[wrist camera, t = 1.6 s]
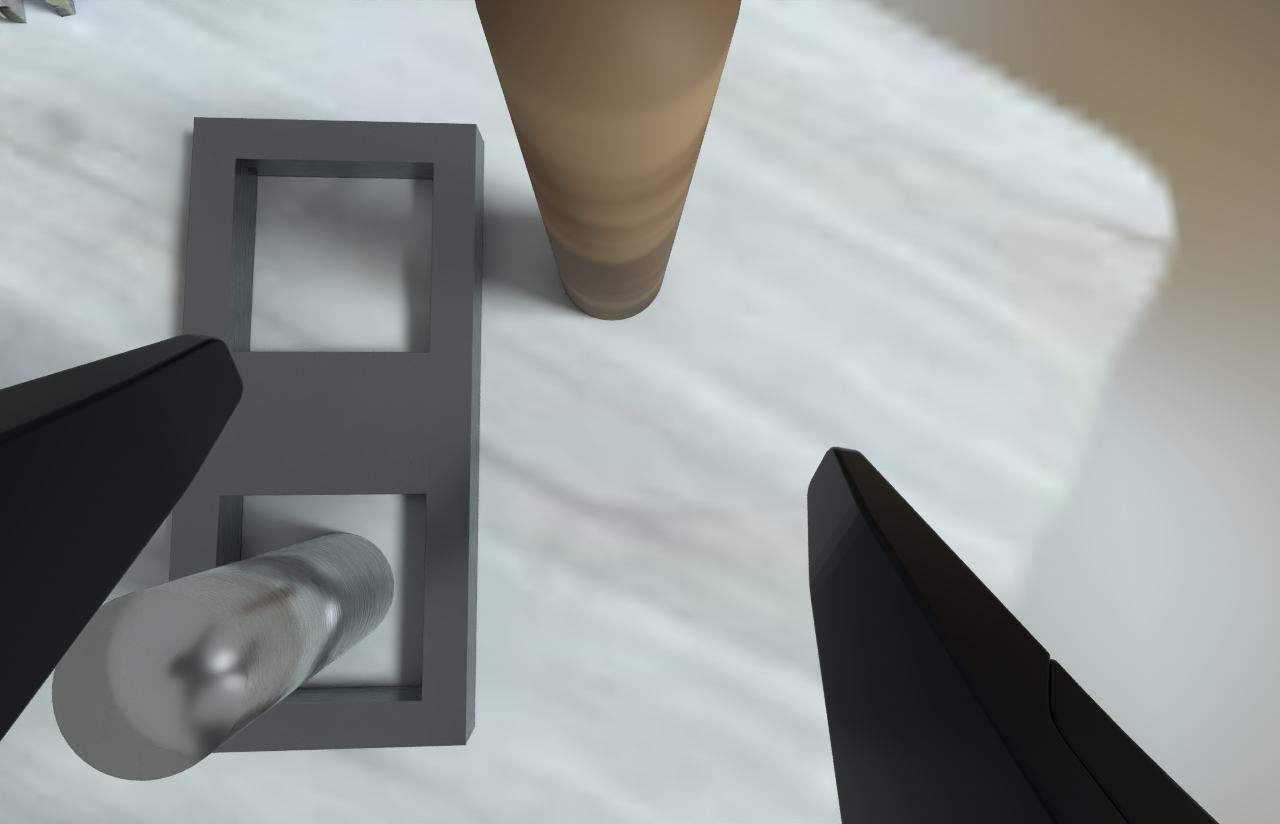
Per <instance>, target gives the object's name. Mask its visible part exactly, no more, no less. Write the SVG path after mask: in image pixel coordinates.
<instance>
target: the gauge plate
mask: <svg viewBox="0 0 1280 824" xmlns="http://www.w3.org/2000/svg"><path fill="white" fill-rule="evenodd" d="M258 175H263V176H314V177H366V178H417V179H434V181H433V225H432V269H431V313H430V352H250V331H251V309H252V287H253V266H254V244H255V222H256V200H257V178H258ZM483 178H484V141H483V139H482V137H481V134H480V132H479V130H478V127H477V125H476V124H450V123H409V122H368V121H326V120H285V119H244V118H203V117H194V133H193V151H192V169H191V188H190V206H189V225H188V243H187V262H186V280H185V298H184V317H183V335H184V334H200V335H205V336H211V337H216V338H219V339H221V340H223V341H224V342H225V343H226V344H227V346H228V348H229V350H230V352H231V355H232V357H233V360H234V362H235V364H236V367H237V369H238V371H239V374H240V376H241V379H242V381H243V387H244V388H243V394H242V398H241V400H240V402H239V403H238V405H237V407H236V408H235V410H234V412H233V414H232V415H231V417H230V419H229V420H228V422H227V424H226V426H225V427H224V429H223V431H222V432H221V434H220V436H219V438H218V439H217V441H216V443H215V444H214V446H213V448H212V450H211V451H210V453H209V455H208V456H207V458H206V460H205V461H204V463H203V465H202V467H201V468H200V470H199V472H198V473H197V475H196V476H195V478H194V480H193V481H192V483H191V484H190V486H189V487H188V489H187V490H186V491H185V493H184V494H183V496H182V497H181V499H180V500H179V501H178V503H177V504H176V505H175V507H174V508H173V520H172V538H171V557H170V575H169V582H170V581H174V580H177V579H180V578H184V577H187V576H190V575H194V574H197V573H200V572H204V571H207V570H210V569H214V568H217V567H220V566H224V565H227V564H230V563H234V562H237V561H240V551H241V529H242V507H243V495H350V494H426V535H425V579H424V623H423V668H422V686H386V687H345V688H305V689H295V690H294V691H293V692H292V693H290V694H289V695H288V696H286V697H285V698H284V699H282V700H281V701H280V702H278V703H277V704H276V705H274V706H273V707H272V708H270V709H269V710H268V711H266V712H265V713H264V714H262V715H261V716H260V717H258V718H257V719H256V720H254V721H253V722H252V723H250V724H249V725H248V726H246V727H245V728H244V729H243V730H241V731H240V732H239V733H237V734H236V735H235V736H233V737H232V738H231V739H229V740H228V741H227V742H225V743H224V744H223V745H221V746H220V747H219V748H217V749H216V750H215V751H213V752H212V753H219V752H252V751H286V750H319V749H352V748H385V747H419V746H452V745H466V743H467V741H468V739H469V737H470V735H471V733H472V731H473V729H474V727H475V675H476V613H477V551H478V489H479V426H480V364H481V302H482V240H483Z"/></svg>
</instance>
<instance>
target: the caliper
mask: <svg viewBox="0 0 1280 824" xmlns="http://www.w3.org/2000/svg"><path fill="white" fill-rule="evenodd" d="M45 1H46V2H47V3H50V4H52V6H53V7H54V8H55V9H56V10H57V12H58V13H59V14H60V15H61V16H62V17H64V16H70V15H75V14H76V12H75V6H74V1H73V0H45ZM0 16H2V17H3V18H6V19H10V20H13V21H16V22H26V17H25V11H24V6H23V0H0Z"/></svg>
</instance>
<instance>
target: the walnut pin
mask: <svg viewBox="0 0 1280 824" xmlns="http://www.w3.org/2000/svg"><path fill="white" fill-rule="evenodd" d="M475 3H476V8H477V11H478V14H479V17H480V20H481V24H482V27H483V30H484V33H485V36H486V40H487V43H488V46H489V49H490V52H491V56H492V59H493V62H494V65H495V68H496V72H497V75H498V78H499V81H500V84H501V88H502V91H503V94H504V97H505V100H506V104H507V107H508V110H509V113H510V116H511V120H512V123H513V126H514V129H515V132H516V136H517V139H518V142H519V145H520V148H521V152H522V155H523V158H524V161H525V164H526V168H527V171H528V174H529V177H530V180H531V184H532V187H533V190H534V193H535V196H536V200H537V203H538V206H539V209H540V212H541V216H542V219H543V222H544V225H545V228H546V232H547V235H548V238H549V241H550V244H551V248H552V251H553V254H554V257H555V260H556V264H557V267H558V270H559V273H560V276H561V280H562V283H563V286H564V289H565V291H566V293H567V295H568V296H569V298H570V299H571V300H572V302H573V303H574V304H575V305H576V306H577V307H578V308H580V309H581V310H582V311H584V312H585V313H587V314H589V315H591V316H593V317H596V318H599V319H604V320H622V319H626V318H629V317H632V316H634V315H637V314H639V313H640V312H642V311H643V310H644V309H646V308H647V307H648V306H649V305H650V304H651V303H652V302H653V300H654V299H655V297H656V296H657V294H658V292H659V290H660V287H661V285H662V281H663V278H664V274H665V271H666V267H667V264H668V260H669V257H670V253H671V250H672V246H673V243H674V239H675V236H676V232H677V229H678V225H679V222H680V218H681V215H682V211H683V208H684V204H685V201H686V197H687V194H688V190H689V187H690V183H691V180H692V176H693V173H694V169H695V166H696V162H697V159H698V155H699V152H700V148H701V145H702V141H703V138H704V134H705V131H706V127H707V124H708V120H709V117H710V113H711V110H712V106H713V103H714V99H715V96H716V92H717V89H718V85H719V82H720V78H721V75H722V72H723V68H724V65H725V61H726V58H727V54H728V51H729V47H730V44H731V40H732V37H733V33H734V30H735V26H736V23H737V19H738V15H739V10H740V5H741V0H475Z"/></svg>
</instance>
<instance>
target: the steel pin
mask: <svg viewBox="0 0 1280 824" xmlns="http://www.w3.org/2000/svg"><path fill="white" fill-rule="evenodd" d="M393 593H394V579H393V574H392V570H391V567H390V565H389V563H388V561H387V559H386V557H385V556H384V554H383V553H382V552H381V551H380V550H379V549H378V548H377V547H376V546H375V545H374V544H372V543H371V542H369V541H368V540H366V539H364V538H362V537H359V536H356V535H352V534H347V533H335V534H329V535H324V536H321V537H317V538H314V539H311V540H307V541H304V542H301V543H297V544H294V545H291V546H287V547H284V548H281V549H277V550H274V551H271V552H267V553H264V554H261V555H257V556H254V557H251V558H247V559H244V560H240V561H237V562H234V563H230V564H227V565H224V566H220V567H217V568H214V569H210V570H207V571H204V572H200V573H197V574H194V575H190V576H187V577H184V578H180V579H177V580H174V581H170V582H167V583H164V584H160V585H157V586H153V587H150V588H147V589H143V590H140V591H137V592H133V593H130V594H127V595H124V596H121V597H118V598H116V599H114V600H112V601H110V602H108V603H106V604H104V605H103V606H101V607H100V608H99V609H98V610H97V612H96V613H95V615H94V616H93V617H92V619H91V620H90V621H89V623H88V624H87V625H86V627H85V628H84V629H83V631H82V632H81V633H80V635H79V636H78V637H77V639H76V640H75V641H74V643H73V644H72V646H71V647H70V648H69V650H68V651H67V652H66V654H65V655H64V656H63V658H62V659H61V660H60V662H59V663H58V664H57V666H56V668H55V672H54V677H53V684H52V702H53V709H54V714H55V717H56V721H57V724H58V726H59V729H60V731H61V733H62V735H63V737H64V738H65V740H66V742H67V743H68V745H69V746H70V747H71V748H72V750H73V751H74V752H75V753H76V754H77V755H78V756H79V757H80V758H81V759H82V760H83V761H85V762H86V763H87V764H89V765H90V766H92V767H93V768H95V769H97V770H99V771H101V772H103V773H105V774H107V775H110V776H114V777H117V778H121V779H127V780H140V781H145V780H155V779H160V778H165V777H169V776H172V775H175V774H177V773H180V772H182V771H184V770H186V769H188V768H190V767H192V766H194V765H195V764H197V763H198V762H200V761H201V760H203V759H204V758H205V757H207V756H208V755H209V754H211V753H212V752H213V751H215V750H216V749H217V748H219V747H220V746H221V745H223V744H224V743H225V742H227V741H228V740H229V739H231V738H232V737H233V736H235V735H236V734H237V733H239V732H240V731H241V730H243V729H244V728H245V727H246V726H248V725H249V724H250V723H252V722H253V721H254V720H256V719H257V718H258V717H260V716H261V715H262V714H264V713H265V712H266V711H268V710H269V709H270V708H272V707H273V706H274V705H276V704H277V703H278V702H280V701H281V700H282V699H284V698H285V697H286V696H288V695H289V694H290V693H292V692H293V691H294V690H295V689H297V688H298V687H299V686H301V685H302V684H303V683H305V682H306V681H307V680H309V679H310V678H311V677H313V676H314V675H315V674H317V673H318V672H319V671H321V670H322V669H323V668H325V667H326V666H327V665H329V664H330V663H331V662H333V661H334V660H335V659H337V658H338V657H339V656H341V655H342V654H343V653H344V652H346V651H347V650H348V649H350V648H351V647H352V646H354V645H355V644H356V643H358V642H359V641H360V640H362V639H363V638H364V637H366V636H367V635H368V634H370V633H371V632H372V631H373V630H374V629H376V628H377V627H378V625H379V624H380V623H381V622H382V621H383V619H384V618H385V616H386V614H387V612H388V610H389V608H390V605H391V603H392V599H393Z"/></svg>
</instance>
